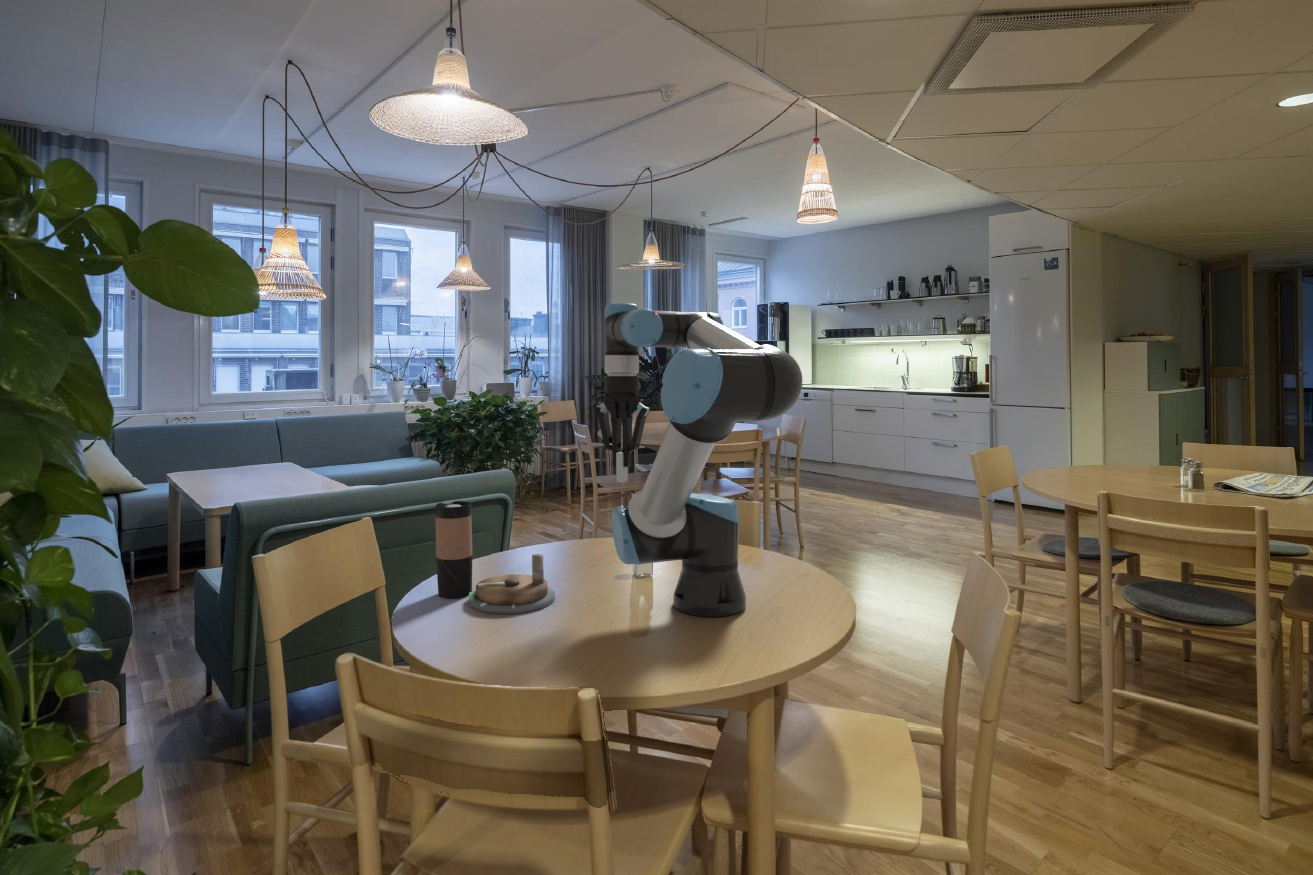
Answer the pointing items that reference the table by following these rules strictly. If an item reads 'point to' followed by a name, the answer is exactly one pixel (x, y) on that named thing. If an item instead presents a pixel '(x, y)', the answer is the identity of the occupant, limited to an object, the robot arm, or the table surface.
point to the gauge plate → (511, 609)
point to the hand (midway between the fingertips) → (621, 481)
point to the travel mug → (454, 549)
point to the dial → (515, 586)
